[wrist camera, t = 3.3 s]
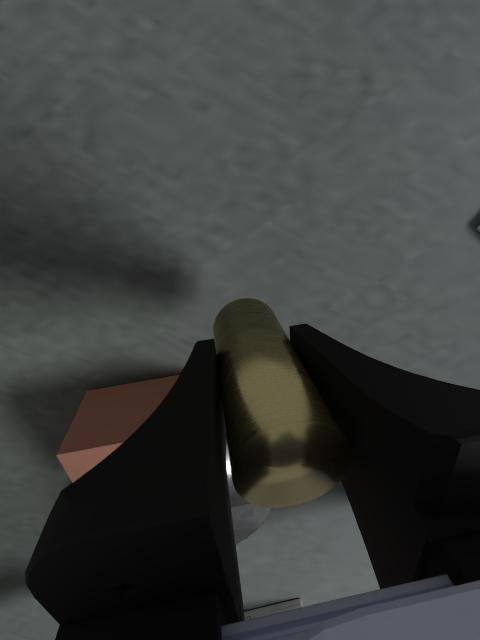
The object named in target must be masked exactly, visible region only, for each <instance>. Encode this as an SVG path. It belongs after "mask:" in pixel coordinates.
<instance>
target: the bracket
mask: <svg viewBox="0 0 480 640" xmlns="http://www.w3.org/2000/svg"><path fill="white" fill-rule="evenodd" d="M179 376H180V375H174V376H168V377H163V378H157V379H151V380H145V381H140V382H134V383H128V384H122V385H116V386H111V387H105V388H99V389H93V390H88V391H86V393H85V395H84V397H83V400H82V402H81V404H80V406H79V408H78V410H77V412H76V414H75V416H74V419H73V421H72V423H71V425H70V427H69V429H68V431H67V433H66V435H65V437H64V440H63V442H62V444H61V446H60V448H59V450H58V452H57V454H56V456H57V458H58V459H59V461H60V463H61V464H62V466H63V468H64V469H65V471H66V473H67V474H68V476H69V478H70V480H71V481H72V483H73V482H74V481H76V480H77V479H78V478H80V477H81V476H82V475H84V474H85V473H86V472H88V471H89V470H90V469H92V468H93V467H94V466H96V465H97V464H98V463H100V462H101V461H102V460H103V459H105V458H106V457H107V456H108V455H109V454H111V453H112V452H113V451H114V450H115V449H116V448H118V447H119V446H120V445H121V444H122V443H123V442H124V441H125V440H126V439H128V438H129V437H130V436H131V435H132V434H133V433H134V432H135V431H136V430H137V429H138V428H139V427H140V426H141V425H142V424H143V423H144V422H145V421H146V419H147V418H148V417H149V416H150V415H151V414H152V413H153V412H154V411H155V409H156V408H157V407H158V406H159V404H160V403H161V402H162V401H163V399H164V398H165V397H166V395H167V394H168V392H169V391H170V389H171V388H172V386H173V385H174V383H175V382H176V380H177V379H178V377H179Z"/></svg>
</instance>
